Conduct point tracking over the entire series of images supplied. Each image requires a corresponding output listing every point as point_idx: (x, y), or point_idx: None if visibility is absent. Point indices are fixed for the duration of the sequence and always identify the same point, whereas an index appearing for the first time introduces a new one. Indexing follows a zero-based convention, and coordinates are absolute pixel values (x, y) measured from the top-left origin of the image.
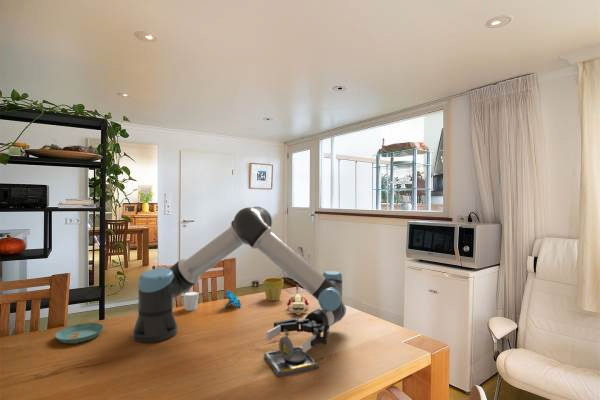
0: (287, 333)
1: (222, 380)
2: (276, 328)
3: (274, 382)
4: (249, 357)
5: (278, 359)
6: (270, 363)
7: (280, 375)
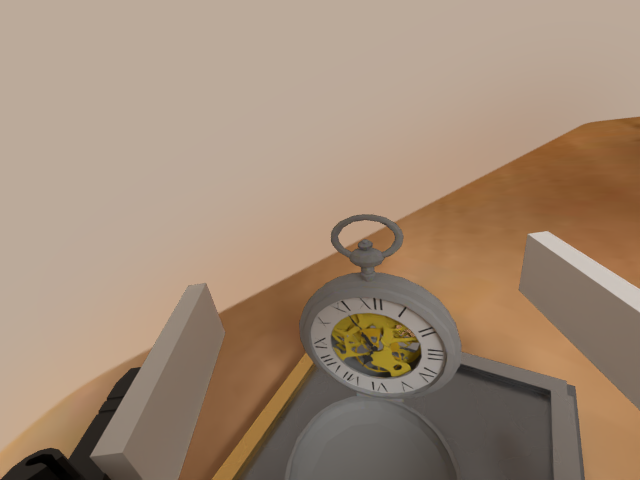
0: (355, 250)
1: (447, 238)
2: (622, 306)
3: None
4: None
5: (440, 396)
6: None
7: None
